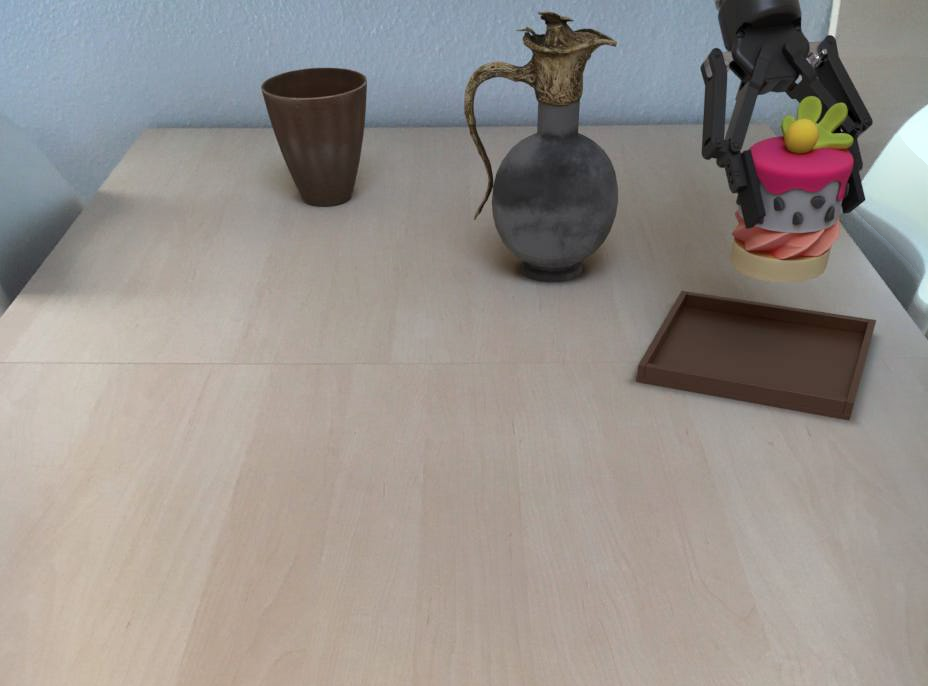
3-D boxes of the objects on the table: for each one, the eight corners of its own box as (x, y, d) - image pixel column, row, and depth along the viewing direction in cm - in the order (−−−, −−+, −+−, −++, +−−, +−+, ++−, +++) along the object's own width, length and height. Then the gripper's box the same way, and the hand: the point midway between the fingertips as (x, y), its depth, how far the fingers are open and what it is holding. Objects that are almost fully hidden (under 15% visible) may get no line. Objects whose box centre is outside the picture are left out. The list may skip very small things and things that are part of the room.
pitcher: (610, 292, 129) (633, 21, 109) (460, 286, 132) (455, 20, 111) (613, 257, 137) (635, -3, 116) (472, 251, 139) (469, -3, 119)
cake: (828, 288, 102) (867, 128, 92) (721, 278, 105) (747, 120, 94) (831, 247, 110) (868, 94, 99) (731, 237, 112) (756, 87, 102)
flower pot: (301, 224, 148) (286, 104, 137) (261, 193, 157) (244, 78, 146) (392, 202, 153) (385, 85, 142) (348, 173, 163) (338, 61, 152)
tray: (871, 338, 119) (876, 319, 117) (849, 422, 106) (854, 402, 104) (679, 308, 126) (681, 290, 124) (635, 383, 113) (638, 364, 111)
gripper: (834, 10, 107) (883, 216, 107) (634, 32, 103) (684, 247, 102) (878, -40, 100) (930, 180, 100) (664, -19, 95) (718, 212, 95)
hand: (805, 214), depth 101 cm, fingers closed on cake, 10 cm apart
